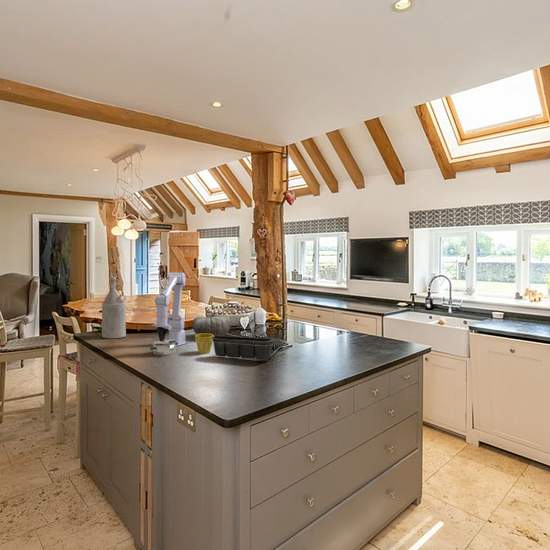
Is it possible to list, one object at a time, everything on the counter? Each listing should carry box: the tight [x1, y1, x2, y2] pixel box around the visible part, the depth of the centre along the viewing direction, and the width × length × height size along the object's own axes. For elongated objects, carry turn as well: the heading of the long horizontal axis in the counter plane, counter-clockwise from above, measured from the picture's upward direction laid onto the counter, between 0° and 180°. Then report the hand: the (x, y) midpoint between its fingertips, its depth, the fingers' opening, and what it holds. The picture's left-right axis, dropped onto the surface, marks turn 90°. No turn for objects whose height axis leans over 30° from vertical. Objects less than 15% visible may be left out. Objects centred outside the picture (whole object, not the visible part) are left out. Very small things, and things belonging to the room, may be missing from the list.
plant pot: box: [194, 334, 214, 355], centre depth 223 cm, size 10×10×10 cm
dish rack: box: [212, 329, 287, 360], centre depth 226 cm, size 34×44×12 cm
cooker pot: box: [149, 342, 179, 357], centre depth 219 cm, size 17×12×5 cm
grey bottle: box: [101, 276, 127, 339], centre depth 259 cm, size 13×17×40 cm
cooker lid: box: [152, 338, 175, 345], centre depth 218 cm, size 12×14×1 cm
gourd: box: [191, 311, 231, 336], centre depth 265 cm, size 25×25×17 cm
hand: (161, 340), depth 220 cm, fingers closed, pressing on cooker lid
